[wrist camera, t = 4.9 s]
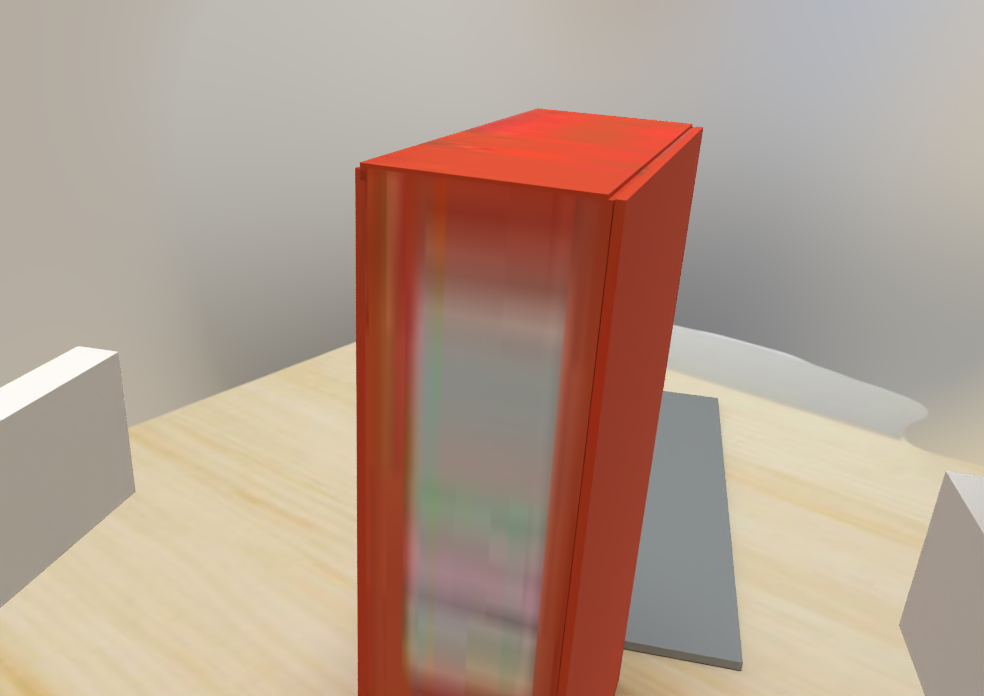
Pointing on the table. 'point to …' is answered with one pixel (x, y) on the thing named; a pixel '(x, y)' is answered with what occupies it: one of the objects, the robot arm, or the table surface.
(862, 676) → the table surface
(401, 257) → the file binder
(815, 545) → the table surface
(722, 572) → the mat
